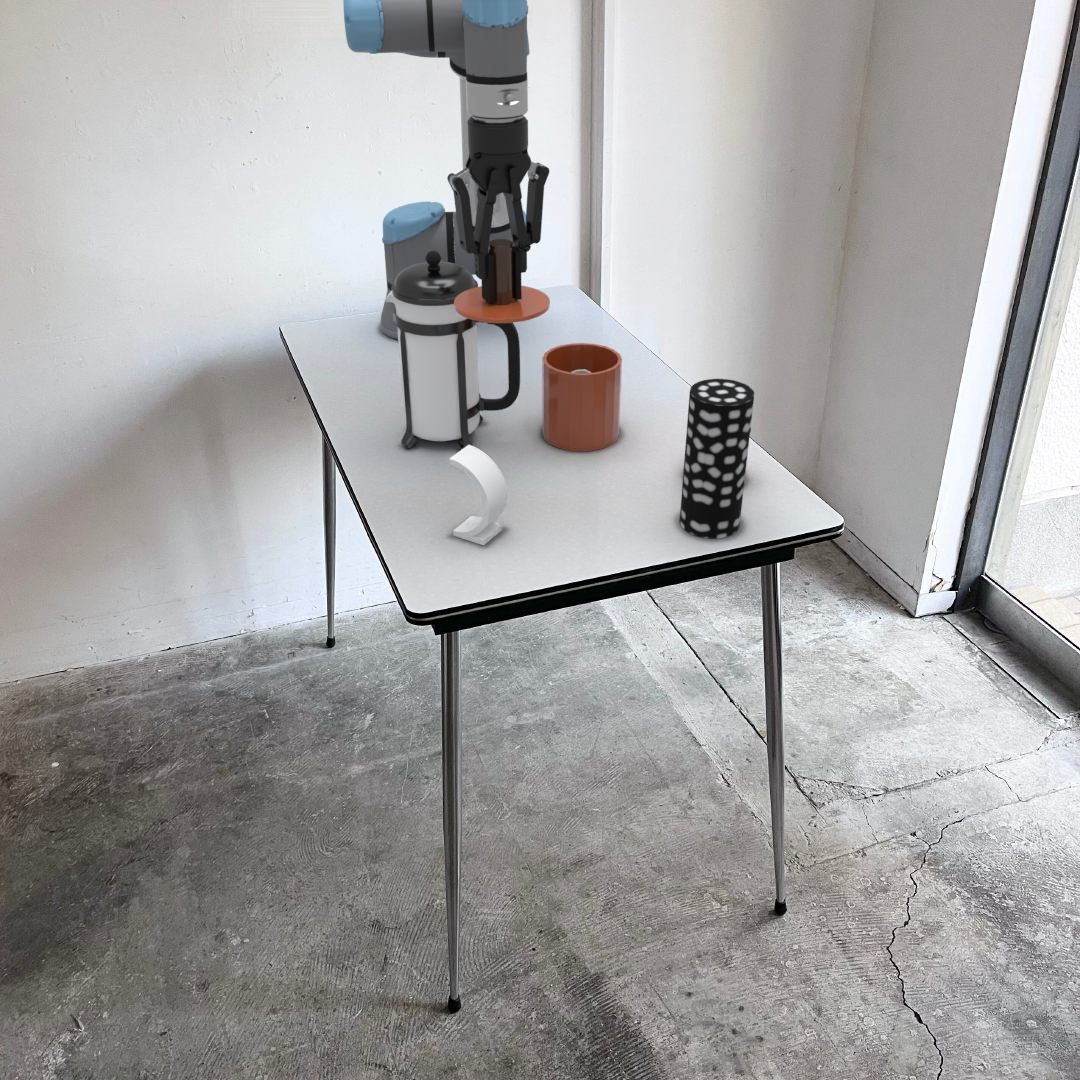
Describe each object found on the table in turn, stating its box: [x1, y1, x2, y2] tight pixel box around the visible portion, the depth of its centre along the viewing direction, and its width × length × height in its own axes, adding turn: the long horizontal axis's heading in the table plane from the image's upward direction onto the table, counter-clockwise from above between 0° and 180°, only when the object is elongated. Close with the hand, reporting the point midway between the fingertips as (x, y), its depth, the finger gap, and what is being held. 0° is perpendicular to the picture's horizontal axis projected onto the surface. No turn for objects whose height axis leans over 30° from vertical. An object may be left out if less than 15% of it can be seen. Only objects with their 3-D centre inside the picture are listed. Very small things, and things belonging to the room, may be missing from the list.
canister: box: [541, 342, 623, 452], centre depth 172 cm, size 12×12×13 cm
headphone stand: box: [448, 445, 508, 546], centre depth 147 cm, size 5×6×12 cm
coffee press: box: [384, 251, 521, 450], centre depth 167 cm, size 17×16×30 cm
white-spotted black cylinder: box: [679, 378, 755, 540], centre depth 147 cm, size 8×8×20 cm
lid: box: [454, 239, 551, 324], centre depth 145 cm, size 13×13×9 cm
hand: (501, 298), depth 147 cm, fingers closed on lid, 3 cm apart
